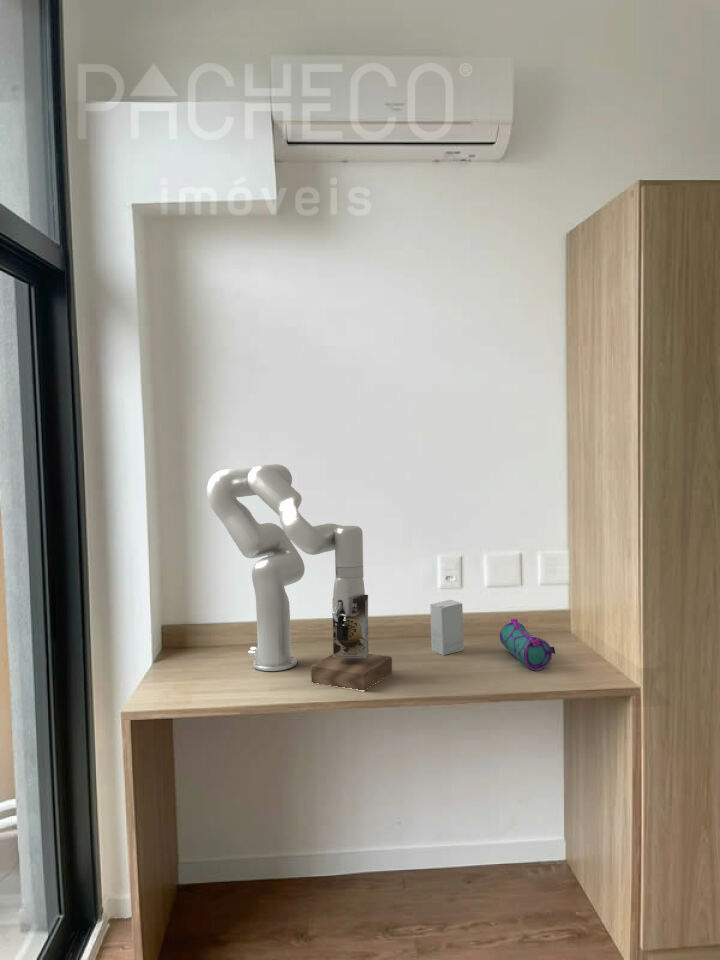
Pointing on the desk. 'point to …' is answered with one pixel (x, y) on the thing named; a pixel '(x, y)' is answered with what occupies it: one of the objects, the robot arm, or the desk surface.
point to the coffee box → (354, 632)
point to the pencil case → (526, 646)
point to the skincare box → (446, 627)
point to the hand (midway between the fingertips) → (350, 635)
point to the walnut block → (351, 671)
